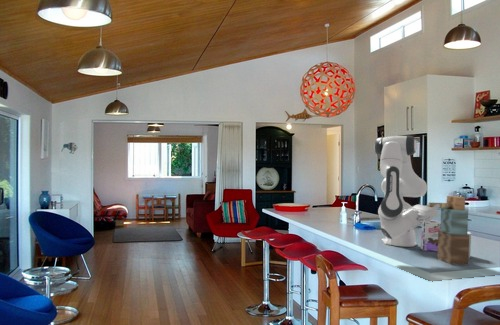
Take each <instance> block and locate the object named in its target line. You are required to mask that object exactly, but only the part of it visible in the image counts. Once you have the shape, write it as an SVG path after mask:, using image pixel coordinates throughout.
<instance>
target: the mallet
mask: <svg viewBox="0 0 500 325" xmlns="http://www.w3.org/2000/svg"><path fill="white" fill-rule="evenodd" d="M435 204H439V205H440V207H439V208H438V209H440V210H441V209H454V210H466V197H463V196H458V195H446V202H431V201H430V202H428V204H427V205H428V207H433V206H435Z"/></svg>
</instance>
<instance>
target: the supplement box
mask: <svg viewBox="0 0 500 325" xmlns="http://www.w3.org/2000/svg"><path fill="white" fill-rule="evenodd" d="M467 235H469V259H470V258H471V247H472V246H471V244H472V233H471V232H470V231H467Z"/></svg>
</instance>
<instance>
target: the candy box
mask: <svg viewBox="0 0 500 325" xmlns="http://www.w3.org/2000/svg"><path fill="white" fill-rule="evenodd" d="M440 226H441V220H434V219H432V220H429V221H426V222H425V221H421V234H420V236H421V237H420V249H421V250H422V251H423V252H424V251H425V252H438V231H440Z"/></svg>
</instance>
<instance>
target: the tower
mask: <svg viewBox="0 0 500 325" xmlns="http://www.w3.org/2000/svg"><path fill="white" fill-rule="evenodd" d="M440 221H441V226H440V231H438V252H437V257H436V259H438V260H441V261H442V262H444V261H445V262H444V263H446V264H449V265H469V260H470V258H469V235H467V232H469V230H468V229H469V226H468V225H469V210H467V209H465V210H454V209H440Z"/></svg>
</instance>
